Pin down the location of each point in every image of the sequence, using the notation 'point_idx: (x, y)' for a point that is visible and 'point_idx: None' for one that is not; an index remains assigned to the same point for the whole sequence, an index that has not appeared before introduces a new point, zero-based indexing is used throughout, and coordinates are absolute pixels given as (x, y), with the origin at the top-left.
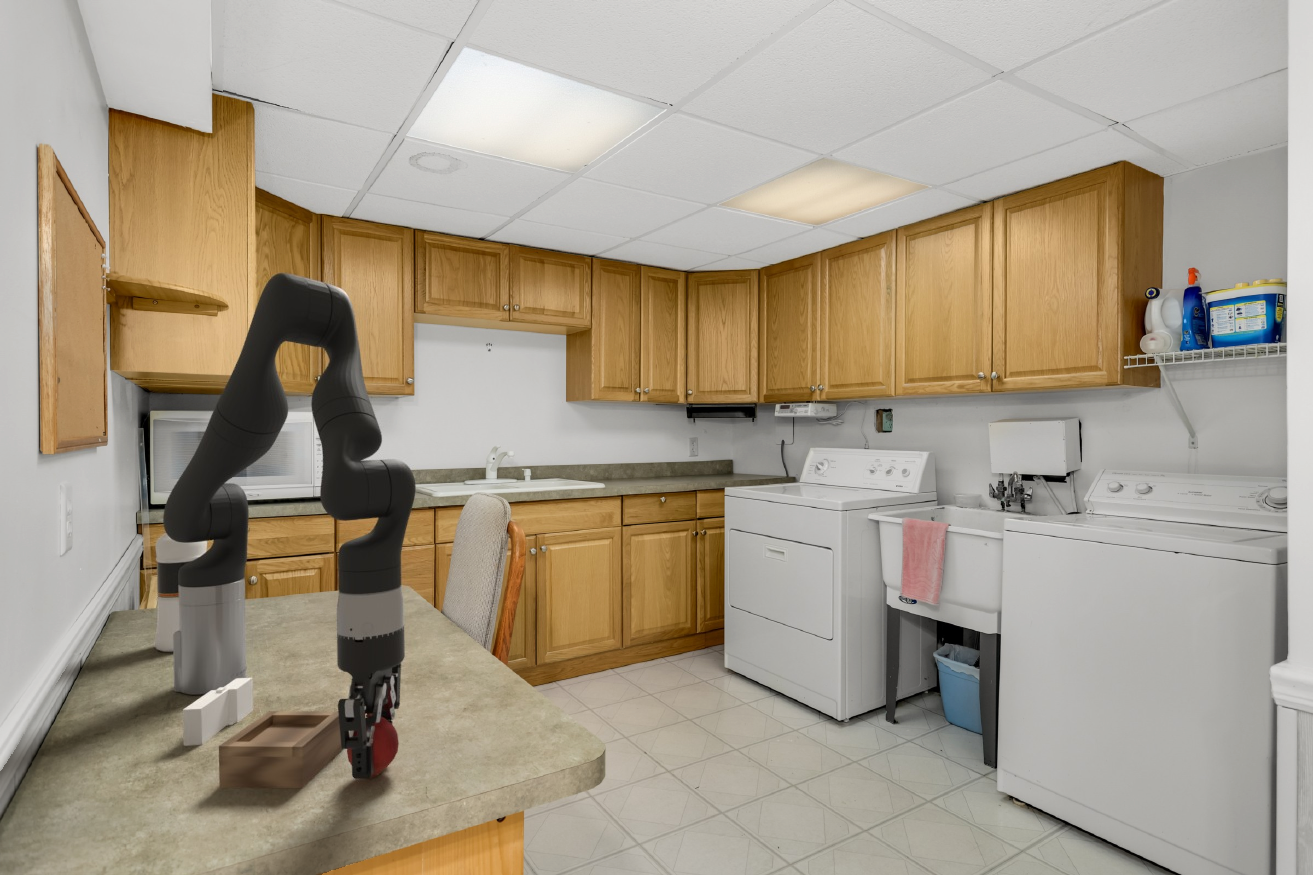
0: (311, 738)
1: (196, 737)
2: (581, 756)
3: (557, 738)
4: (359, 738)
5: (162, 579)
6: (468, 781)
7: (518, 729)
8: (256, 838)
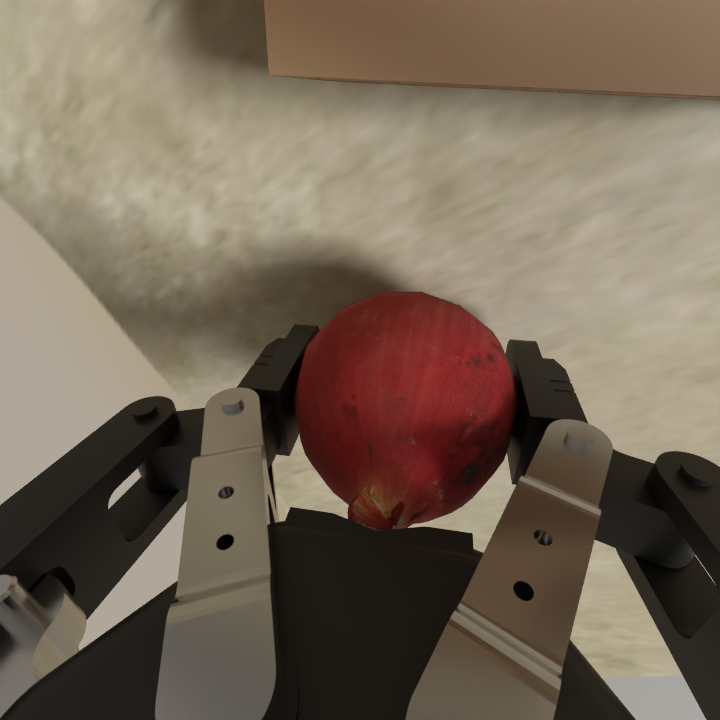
0: (400, 77)
1: None
2: None
3: None
4: (123, 499)
5: None
6: None
7: (637, 615)
8: (14, 92)
